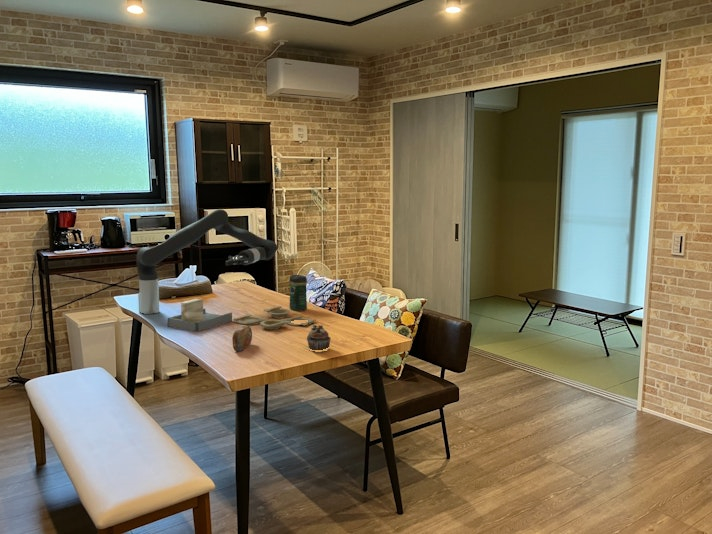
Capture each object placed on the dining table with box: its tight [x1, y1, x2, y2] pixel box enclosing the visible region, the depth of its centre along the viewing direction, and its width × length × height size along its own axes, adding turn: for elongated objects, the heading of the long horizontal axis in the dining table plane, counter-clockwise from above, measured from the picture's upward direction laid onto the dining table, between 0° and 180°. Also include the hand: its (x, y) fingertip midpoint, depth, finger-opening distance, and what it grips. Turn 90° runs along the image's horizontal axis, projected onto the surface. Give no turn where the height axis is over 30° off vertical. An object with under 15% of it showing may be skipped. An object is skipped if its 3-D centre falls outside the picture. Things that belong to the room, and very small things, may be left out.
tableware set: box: [233, 305, 317, 331], centre depth 278 cm, size 35×29×4 cm
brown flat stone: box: [232, 325, 253, 352], centre depth 234 cm, size 15×3×8 cm, turn 168°
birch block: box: [180, 298, 204, 322], centre depth 266 cm, size 4×10×10 cm, turn 152°
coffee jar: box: [288, 274, 308, 312], centre depth 305 cm, size 10×8×19 cm
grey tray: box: [167, 308, 233, 333], centre depth 272 cm, size 18×24×4 cm
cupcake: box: [306, 324, 332, 350], centre depth 233 cm, size 10×10×10 cm
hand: (226, 263), depth 286 cm, fingers closed
